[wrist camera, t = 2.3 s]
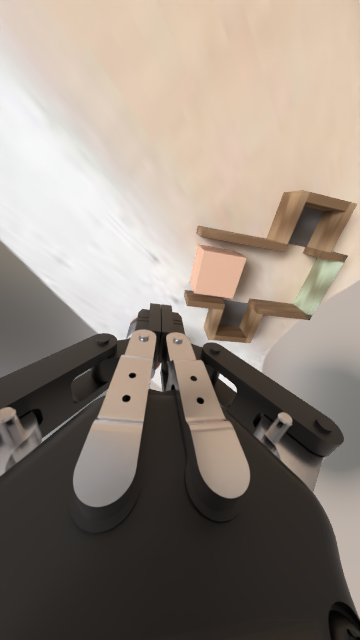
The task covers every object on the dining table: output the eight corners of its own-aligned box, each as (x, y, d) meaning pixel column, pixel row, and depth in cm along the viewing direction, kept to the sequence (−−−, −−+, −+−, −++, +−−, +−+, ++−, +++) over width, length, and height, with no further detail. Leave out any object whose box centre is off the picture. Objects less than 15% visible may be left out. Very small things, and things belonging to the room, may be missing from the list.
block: (197, 244, 28) (204, 250, 24) (234, 250, 30) (246, 258, 25) (189, 281, 31) (194, 293, 27) (223, 286, 32) (232, 298, 28)
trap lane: (208, 174, 24) (216, 168, 21) (349, 208, 28) (376, 208, 24) (178, 324, 35) (180, 337, 32) (281, 334, 39) (293, 346, 36)
